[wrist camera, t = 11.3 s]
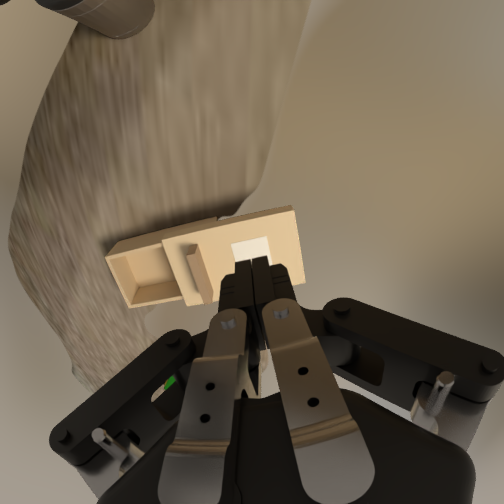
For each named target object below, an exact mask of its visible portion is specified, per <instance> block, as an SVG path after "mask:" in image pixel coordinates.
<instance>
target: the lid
mask: <svg viewBox="0 0 504 504" xmlns="http://www.w3.org/2000/svg"><path fill="white" fill-rule="evenodd" d="M161 241H162V243H163V246H164V249H165V252H166V254H167V257H168V260H169V262H170V265H171V268H172V270H173V273H174V275H175V278H176V280H177V283H178V285H179V288H180V290H181V293H182V295H183V298H184V300H185V303H186V305H187V306H192V305H198V304H203V303H204V304H210V303H212V302H214V301H219V296H220V285H221V281H222V279H223V278H224V277H225V275H227V274H232V273H235V262H238V261H243V260H247V259H251V262H252V258H256V257H261V256H266V255H267V257H268V261H269V266H270V265H275V264H279V263H281V264H282V265H284V266H285V267H286V268H287V270H288V273H289V276H290V280H291V283H292V286H293V285H297V284H302V283H305V276H304V269H303V262H302V256H301V249H300V243H299V237H298V231H297V225H296V219H295V213H294V209H293V207H292V206H291V205H288V206H284V207H279V208H274V209H269V210H264V211H260V212H255V213H250V214H246V215H241V216H237V217H232V218H228V219H224V220H219V221H215V222H211V223H206V224H202V225H198V226H194V227H190V228H186V229H181V230H177V231H173V232H169V233H165V235H164V236H163V238H162V240H161Z"/></svg>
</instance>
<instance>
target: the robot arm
mask: <svg viewBox="0 0 504 504" xmlns="http://www.w3.org/2000/svg"><path fill="white" fill-rule="evenodd" d="M8 1H10V0H0V5H3V4H5V3H7V2H8ZM35 1H36V2H37V3H38V4H39V5H41V6H43V7H45V8H48V9H50V10H53V11H55V12H57V13H60V14H62V15H65V16H67V17H69V18H71V19H74V20H76V21H78V22H80V23H82V24H84V25H86V26H88V27H90V28H92V29H95V30H97V31H98V32H100V33H102V34H104V35H106V36H108V37H110V38H114V39H124V38H128V37H131V36H133V35H135V34H137V33H138V32H140V31H141V30H142V29H143V28H144V27H146V26H147V24H148V23H149V22H150V20H151V18H152V16H153V13H154V7H155V6H154V1H153V0H35ZM265 341H266V345H267V349H270V352H271V355H272V360H273V364H274V369H275V372H276V377H277V381H278V385H279V389H280V392H278V393H275V394H273V395H270V396H268V397H265V398H261V368H262V366H261V362H260V351H261V350H266V345H265ZM333 373H335V374H337V375H338V376H341V377H342V378H344V379H346V380H348V381H350V382H352V383H354V384H355V385H357V386H359V387H361V388H363V389H365V390H367V391H369V392H371V393H373V394H375V395H377V396H379V397H381V398H383V399H385V400H387V401H389V402H391V403H393V404H395V405H397V406H399V407H401V408H404V409H406V410H408V411H410V412H411V419H412V422H413V423H412V422H410V421H408V420H406V419H405V418H403V417H400V416H399V415H397V414H395V413H393V412H391V411H390V410H388V409H386V408H384V407H382V406H381V405H379V404H377V403H375V402H373V401H372V400H370V399H368V398H366V397H364V396H363V395H361V394H358V393H356V392H353V391H350V390H347V389H341V388H339V386H338V384H337V382H336V379H335V377H334V375H333ZM171 376H173V377H174V379H175V382H174V383H173V384H172V385H171V386H170V387H168V388H167V389H166V390H165V391H164V392H163V393H162V394H161V395H160V396H159V397H158V398H157V399H156V400H155V401H154V402H151V397H152V395H153V393H154V392H155V391H156V390H157V389H158V388H159V387H160V386H162V385H163V384H164V383H165V382H166V381H167V380H168V379H169V378H170V377H171ZM503 381H504V357H503V356H502V355H501V354H500V353H499V352H497V351H495V350H492V349H489V348H487V347H484V346H481V345H478V344H475V343H472V342H470V341H467V340H464V339H461V338H459V337H456V336H453V335H450V334H447V333H445V332H442V331H439V330H436V329H433V328H431V327H428V326H425V325H422V324H420V323H417V322H414V321H411V320H409V319H406V318H403V317H400V316H398V315H395V314H392V313H390V312H387V311H384V310H381V309H379V308H376V307H373V306H370V305H368V304H365V303H362V302H360V301H357V300H354V299H351V298H337V299H333V300H331V301H329V302H328V303H327V304H326V305H325V306H324V308H323V310H309V309H305V308H303V307H301V306H300V305H299V304H298V303H297V300H296V297H295V294H294V290H293V287H292V283H291V280H290V276H289V273H288V270H287V268H286V267H285V266H284V265H282V264H281V263H279V264H275V265H270V266H269V261H268V257H267V255H266V256H261V257H256V258H252V262H251V259H247V260H243V261H238V262H235V273H232V274H227V275H225V277H224V278H223V279H222V281H221V285H220V296H219V307H218V313H217V314H216V315H215V316H214V317H213V318H212V319H211V322H210V326H209V329H208V330H206V331H204V332H202V333H199V334H197V335H194V336H191V335H190V334H189V332H188V331H186V330H183V329H176V330H172V331H169V332H167V333H165V334H164V335H163V336H161V337H160V338H159V339H158V340H157V341H155V342H154V343H153V344H152V345H151V346H150V347H148V348H147V349H146V350H145V351H144V352H142V353H141V354H140V355H139V356H138V357H137V358H135V359H134V360H133V361H132V362H131V363H130V364H128V365H127V366H126V367H125V368H124V369H122V370H121V371H120V372H119V373H118V374H117V375H115V376H114V377H113V378H112V379H111V380H109V381H108V382H107V383H106V384H105V385H104V386H102V387H101V388H100V389H99V390H98V391H96V392H95V393H94V394H93V395H92V396H91V397H89V398H88V399H87V400H86V401H85V402H83V403H82V404H81V405H80V406H79V407H77V408H76V409H75V410H74V411H73V412H72V413H70V414H69V415H68V416H67V417H66V418H64V419H63V420H62V421H61V422H60V423H59V424H57V425H56V426H55V427H54V428H53V430H52V431H51V434H50V437H49V443H50V447H51V448H52V450H53V451H55V452H56V453H57V454H58V455H60V456H61V457H62V458H64V459H65V460H66V461H67V462H68V463H69V464H70V465H72V466H73V467H75V468H76V469H77V470H78V472H79V473H80V475H81V476H82V478H83V479H84V481H85V482H86V483H87V485H88V486H89V487H90V488H91V490H92V491H93V493H94V494H95V495H96V497H97V498H98V499H99V500H98V502H97V504H472V498H473V492H474V487H475V481H476V473H475V468H474V464H473V462H472V460H471V458H470V456H469V455H468V453H467V452H466V451H467V449H468V447H469V445H470V443H471V441H472V439H473V437H474V435H475V433H476V430H477V428H478V426H479V424H480V421H481V419H482V416H483V414H484V411H485V409H486V408H487V406H488V405H489V403H490V402H491V400H492V399H493V397H494V396H495V394H496V393H497V391H498V389H499V388H500V386H501V384H502V382H503Z"/></svg>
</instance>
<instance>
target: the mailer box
mask: <svg viewBox="0 0 504 504" xmlns="http://www.w3.org/2000/svg"><path fill="white" fill-rule="evenodd" d="M215 221H218V219H217V216H216V217H212V218H207V219H203V220H199V221H195V222H191V223H187V224H183V225H179V226H175V227H171V228H167V229H163V230H159V231H155V232H151V233H147V234H143V235H140V236H136V237H132V238H128V239H125V240H121V241H118V242H117V243H116V244H115V246H114V247H113V248H112V249H111V250H110V252H109V253H108V254H107V255H106V256H105V258H106V261H107V263H108V265H109V267H110V270H111V272H112V274H113V276H114V278H115V280H116V282H117V285H118V287H119V289H120V291H121V293H122V295H123V297H124V299H125V301H126V303H127V305H128V307H129V308H134V307H140V306H146V305H152V304H158V303H163V302H169V301H174V300H180V299H184V298H183V295H182V293H181V290H180V288H179V285H178V283H177V280H176V278H175V275H174V273H173V270H172V268H171V265H170V262H169V260H168V257H167V254H166V252H165V249H164V246H163V243H162V241H161V240H162V238H163V236H164V235H165V233H169V232H173V231H177V230H181V229H186V228H190V227H194V226H198V225H202V224H206V223H211V222H215Z"/></svg>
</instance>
